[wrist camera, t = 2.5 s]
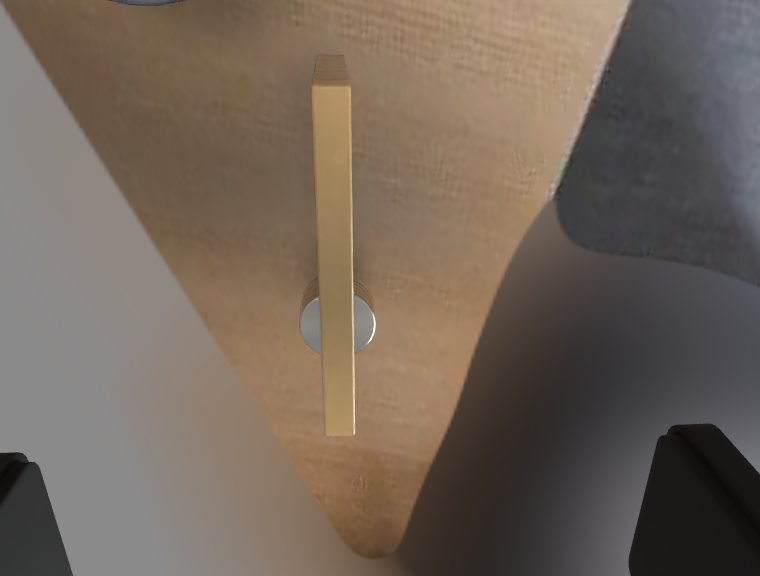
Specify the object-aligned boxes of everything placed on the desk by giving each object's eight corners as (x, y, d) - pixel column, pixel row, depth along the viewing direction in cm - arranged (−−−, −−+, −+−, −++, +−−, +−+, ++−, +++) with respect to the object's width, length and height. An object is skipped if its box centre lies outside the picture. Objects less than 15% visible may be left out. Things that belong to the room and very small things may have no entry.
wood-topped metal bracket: (372, 333, 28) (388, 460, 20) (303, 336, 28) (292, 464, 20) (373, 54, 23) (394, 84, 15) (287, 54, 23) (265, 85, 15)
